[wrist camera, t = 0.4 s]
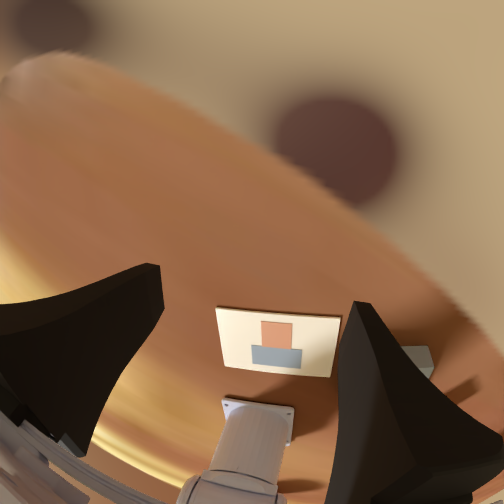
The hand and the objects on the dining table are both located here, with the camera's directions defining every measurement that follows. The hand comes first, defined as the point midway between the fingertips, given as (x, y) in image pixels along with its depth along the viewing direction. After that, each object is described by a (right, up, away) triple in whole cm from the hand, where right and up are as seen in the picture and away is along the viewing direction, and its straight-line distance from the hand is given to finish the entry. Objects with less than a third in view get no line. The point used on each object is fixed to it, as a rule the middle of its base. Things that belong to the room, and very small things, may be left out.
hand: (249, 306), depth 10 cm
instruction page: (+2, -6, +13) cm, 15 cm away
